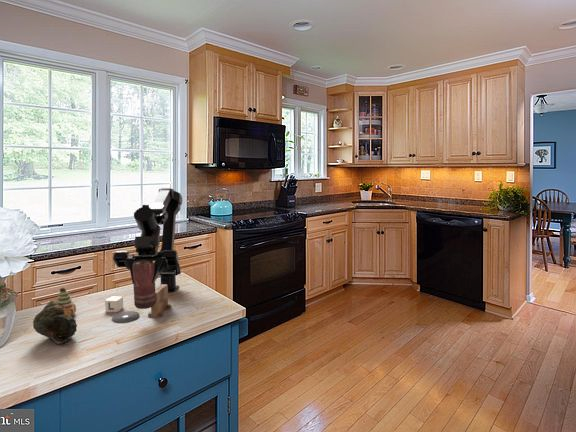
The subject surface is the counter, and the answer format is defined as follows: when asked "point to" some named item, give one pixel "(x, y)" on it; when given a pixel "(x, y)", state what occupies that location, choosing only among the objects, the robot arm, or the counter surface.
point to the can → (144, 284)
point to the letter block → (114, 304)
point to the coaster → (125, 316)
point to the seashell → (55, 323)
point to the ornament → (65, 302)
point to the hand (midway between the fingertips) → (143, 283)
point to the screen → (160, 301)
